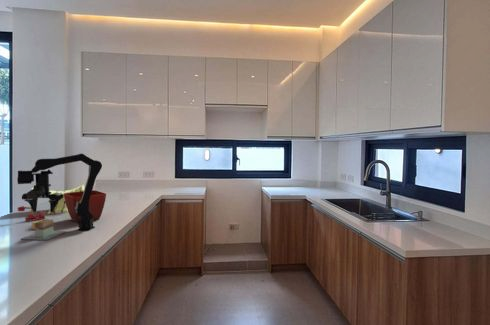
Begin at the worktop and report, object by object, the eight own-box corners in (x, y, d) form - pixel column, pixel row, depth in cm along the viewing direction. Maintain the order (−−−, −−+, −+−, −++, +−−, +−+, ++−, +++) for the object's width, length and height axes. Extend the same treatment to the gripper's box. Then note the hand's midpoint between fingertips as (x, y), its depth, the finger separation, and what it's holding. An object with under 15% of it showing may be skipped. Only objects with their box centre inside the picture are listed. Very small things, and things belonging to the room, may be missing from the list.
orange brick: (49, 226, 174) (49, 220, 173) (39, 229, 167) (38, 223, 167) (42, 225, 174) (42, 219, 174) (32, 229, 167) (31, 222, 167)
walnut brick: (53, 226, 158) (53, 219, 157) (43, 230, 151) (43, 223, 151) (45, 225, 158) (45, 219, 158) (34, 229, 151) (34, 222, 151)
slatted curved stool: (84, 206, 226) (84, 183, 225) (82, 211, 211) (81, 186, 210) (37, 210, 214) (37, 185, 213) (32, 214, 199) (31, 188, 198)
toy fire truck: (45, 219, 189) (45, 204, 188) (19, 223, 178) (18, 207, 178) (44, 218, 191) (43, 203, 190) (17, 222, 180) (17, 206, 180)
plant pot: (107, 219, 189) (106, 193, 188) (74, 225, 175) (73, 197, 174) (95, 214, 202) (94, 190, 201) (63, 219, 188) (63, 193, 187)
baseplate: (66, 232, 161) (66, 224, 161) (47, 240, 147) (47, 232, 147) (41, 231, 162) (41, 223, 162) (20, 239, 148) (20, 231, 148)
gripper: (12, 184, 147) (13, 215, 148) (48, 185, 146) (49, 216, 147) (29, 181, 158) (30, 210, 159) (63, 182, 157) (64, 211, 158)
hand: (43, 212), depth 155 cm, fingers open, 9 cm apart
